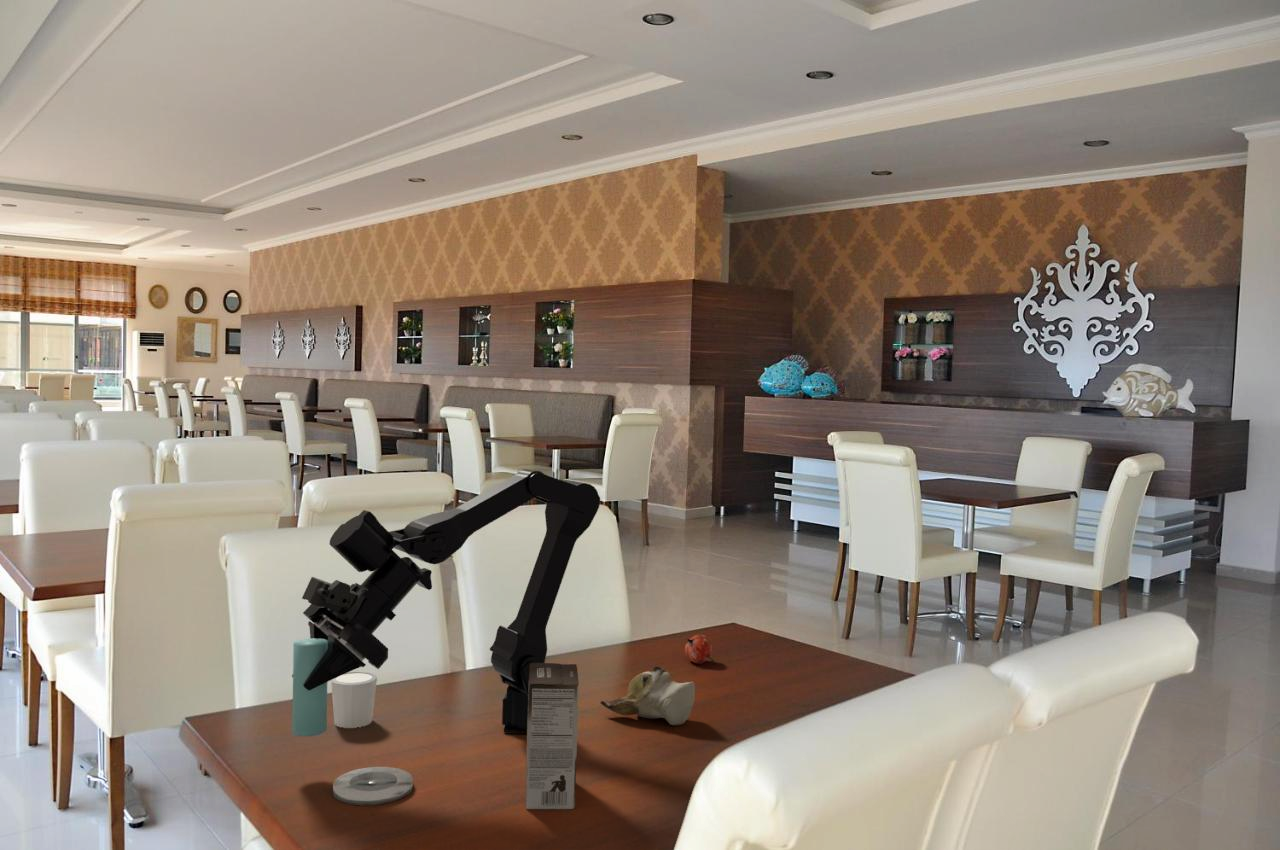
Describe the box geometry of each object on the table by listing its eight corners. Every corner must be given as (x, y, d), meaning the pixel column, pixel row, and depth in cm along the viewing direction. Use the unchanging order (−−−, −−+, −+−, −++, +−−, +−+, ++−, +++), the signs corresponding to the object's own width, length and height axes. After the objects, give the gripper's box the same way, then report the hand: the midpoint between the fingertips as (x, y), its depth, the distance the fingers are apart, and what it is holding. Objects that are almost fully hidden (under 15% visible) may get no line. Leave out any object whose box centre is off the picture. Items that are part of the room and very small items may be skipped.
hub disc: (420, 775, 133) (420, 767, 133) (402, 806, 123) (402, 798, 123) (346, 772, 133) (346, 764, 133) (322, 804, 123) (322, 795, 123)
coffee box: (526, 781, 132) (529, 662, 131) (574, 781, 132) (577, 662, 132) (524, 810, 123) (527, 682, 122) (575, 810, 123) (579, 682, 123)
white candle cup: (363, 731, 149) (364, 685, 148) (321, 727, 150) (322, 681, 150) (383, 717, 155) (384, 673, 155) (343, 712, 157) (344, 669, 156)
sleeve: (330, 725, 135) (332, 638, 134) (320, 737, 130) (321, 647, 130) (298, 724, 135) (300, 637, 134) (287, 735, 130) (288, 646, 130)
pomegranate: (700, 665, 196) (672, 644, 194) (718, 643, 196) (690, 622, 194) (709, 677, 191) (680, 655, 188) (727, 654, 191) (699, 632, 189)
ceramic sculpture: (676, 679, 150) (597, 667, 159) (676, 736, 150) (597, 721, 159) (710, 665, 159) (634, 654, 168) (711, 718, 159) (634, 705, 168)
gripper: (318, 545, 141) (237, 631, 135) (366, 567, 126) (277, 664, 120) (370, 594, 146) (294, 679, 140) (422, 620, 131) (339, 716, 125)
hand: (299, 683), depth 131 cm, fingers closed on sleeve, 4 cm apart
